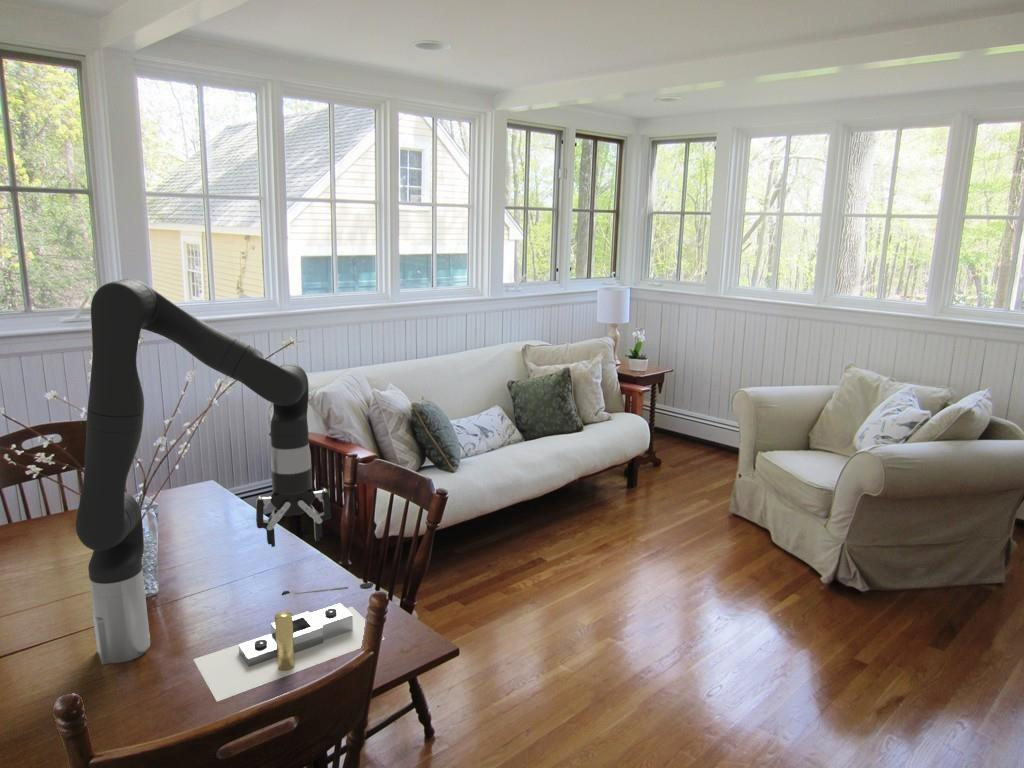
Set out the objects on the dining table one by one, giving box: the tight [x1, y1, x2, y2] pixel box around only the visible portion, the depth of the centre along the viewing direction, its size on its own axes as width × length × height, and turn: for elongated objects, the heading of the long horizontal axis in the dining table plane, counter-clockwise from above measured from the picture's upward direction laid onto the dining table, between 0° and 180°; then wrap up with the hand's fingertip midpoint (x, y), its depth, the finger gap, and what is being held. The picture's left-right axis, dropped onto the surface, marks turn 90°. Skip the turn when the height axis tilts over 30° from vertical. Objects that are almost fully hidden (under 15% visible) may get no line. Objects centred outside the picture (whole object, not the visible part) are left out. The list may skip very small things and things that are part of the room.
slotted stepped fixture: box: [237, 602, 353, 667], centre depth 150 cm, size 22×8×4 cm, turn 127°
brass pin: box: [274, 610, 295, 671], centre depth 141 cm, size 3×3×11 cm
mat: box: [192, 606, 386, 703], centre depth 148 cm, size 34×16×1 cm, turn 127°
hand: (295, 542), depth 146 cm, fingers open, 8 cm apart
